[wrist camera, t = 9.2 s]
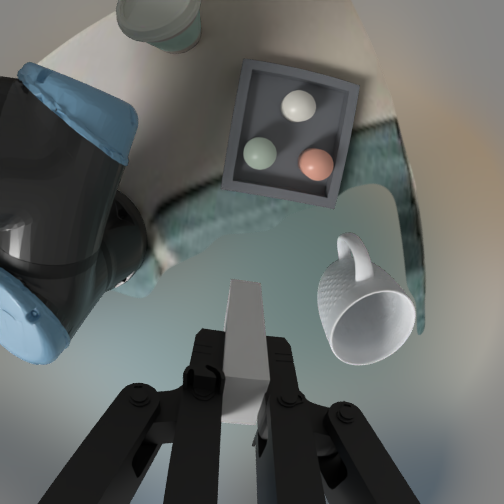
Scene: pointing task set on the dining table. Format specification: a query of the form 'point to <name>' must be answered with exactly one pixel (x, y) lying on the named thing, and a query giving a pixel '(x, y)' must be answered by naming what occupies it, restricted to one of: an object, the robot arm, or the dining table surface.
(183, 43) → the coffee cup
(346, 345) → the mug
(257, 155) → the button sage
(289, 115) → the button ivory
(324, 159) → the button coral
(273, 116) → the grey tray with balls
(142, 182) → the dining table surface
